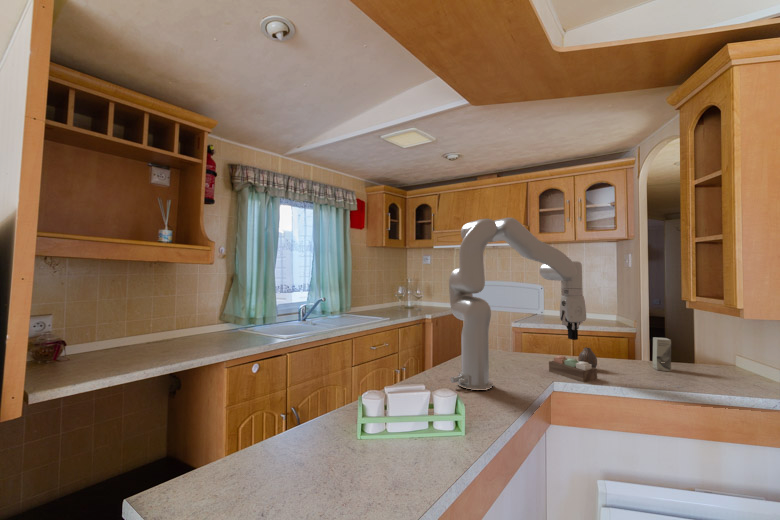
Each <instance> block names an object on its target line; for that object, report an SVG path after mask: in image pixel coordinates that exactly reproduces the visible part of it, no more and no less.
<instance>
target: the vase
mask: <svg viewBox="0 0 780 520" xmlns="http://www.w3.org/2000/svg"><path fill="white" fill-rule="evenodd" d="M577 361H583V362H588V363H589V364H591V365H592V367H593V368H597V366H598V358H597V356H596V354H595V353H594V352H593V350H592V348H590V347H584V348H583V349H582V351H581V352H580V353H579V355H578V359H577Z"/></svg>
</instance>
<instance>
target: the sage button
mask: <svg viewBox="0 0 780 520" xmlns="http://www.w3.org/2000/svg"><path fill="white" fill-rule="evenodd" d="M579 362H580V361H578V359H576V358H569V359H567V360H565V365H568V366H571V367H576V363H579Z"/></svg>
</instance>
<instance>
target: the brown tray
mask: <svg viewBox="0 0 780 520" xmlns="http://www.w3.org/2000/svg"><path fill="white" fill-rule="evenodd" d="M548 372H550V373H553V374H556V375H559V376H562V377H566V378H567V379H568V378H569V379H571V380H574V381H577V382H581V383H586V382H591V381H595V380H594V379H596V380H598V368H597V367H596V368H593V367H592V369H590V370H582V369H578V368H576V367H571V366H568V365H565V364H561V363H557V362H554V360H550V361H548ZM590 380H591V381H590Z"/></svg>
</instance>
